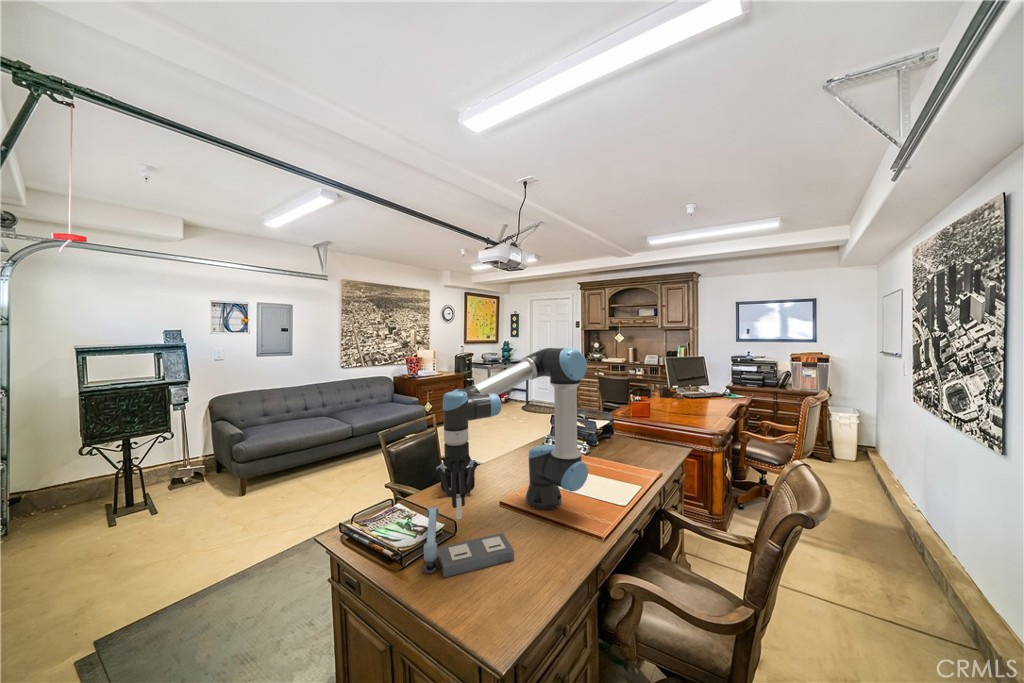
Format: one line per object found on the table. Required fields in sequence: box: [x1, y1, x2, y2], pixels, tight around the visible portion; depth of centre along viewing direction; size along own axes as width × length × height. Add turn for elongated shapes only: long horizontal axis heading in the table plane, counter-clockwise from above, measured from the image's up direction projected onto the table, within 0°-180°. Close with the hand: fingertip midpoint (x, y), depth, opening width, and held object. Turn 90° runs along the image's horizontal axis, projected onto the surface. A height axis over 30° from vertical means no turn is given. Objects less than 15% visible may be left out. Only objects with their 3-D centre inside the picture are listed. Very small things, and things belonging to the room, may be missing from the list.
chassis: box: [437, 532, 515, 579], centre depth 116 cm, size 22×11×3 cm, turn 110°
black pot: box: [440, 464, 476, 494], centre depth 166 cm, size 16×16×12 cm
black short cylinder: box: [422, 559, 440, 576], centre depth 111 cm, size 5×5×4 cm
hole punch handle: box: [423, 506, 440, 562], centre depth 122 cm, size 27×4×4 cm, turn 11°
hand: (458, 516), depth 114 cm, fingers closed
